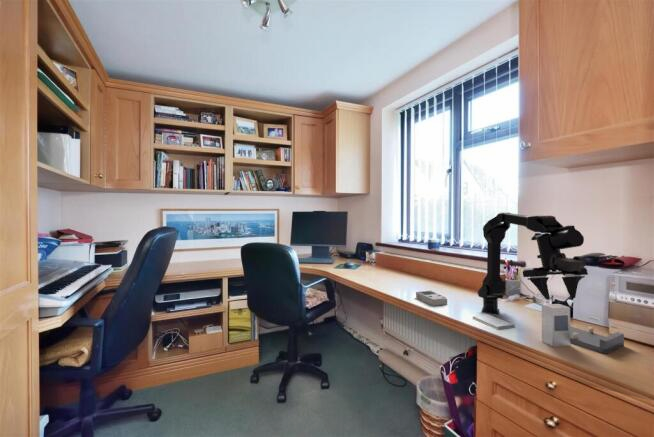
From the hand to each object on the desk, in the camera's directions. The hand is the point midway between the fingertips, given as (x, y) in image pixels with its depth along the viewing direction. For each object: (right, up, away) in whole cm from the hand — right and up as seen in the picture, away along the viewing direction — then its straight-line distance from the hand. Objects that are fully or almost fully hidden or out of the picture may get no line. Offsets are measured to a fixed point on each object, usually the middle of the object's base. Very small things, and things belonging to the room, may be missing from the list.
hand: (560, 298), depth 93 cm
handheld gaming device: (-23, -16, +51) cm, 58 cm away
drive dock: (+11, -15, +4) cm, 19 cm away
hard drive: (-10, -16, +21) cm, 28 cm away
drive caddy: (0, -15, +2) cm, 16 cm away
